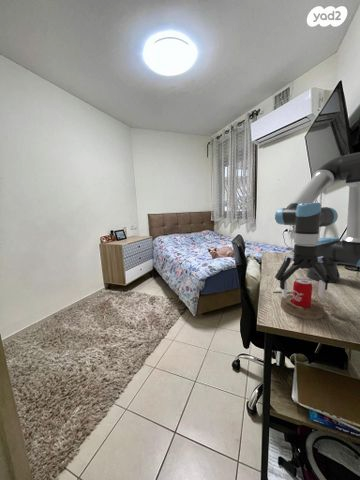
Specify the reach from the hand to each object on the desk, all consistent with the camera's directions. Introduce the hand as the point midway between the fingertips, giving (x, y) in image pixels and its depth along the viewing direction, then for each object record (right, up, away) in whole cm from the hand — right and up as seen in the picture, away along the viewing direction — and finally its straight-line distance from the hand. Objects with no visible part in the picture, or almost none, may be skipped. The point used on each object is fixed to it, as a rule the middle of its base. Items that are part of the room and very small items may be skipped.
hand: (302, 297), depth 75 cm
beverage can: (0, -5, +1) cm, 5 cm away
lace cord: (+3, -3, +16) cm, 17 cm away
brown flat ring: (0, -5, +1) cm, 5 cm away
